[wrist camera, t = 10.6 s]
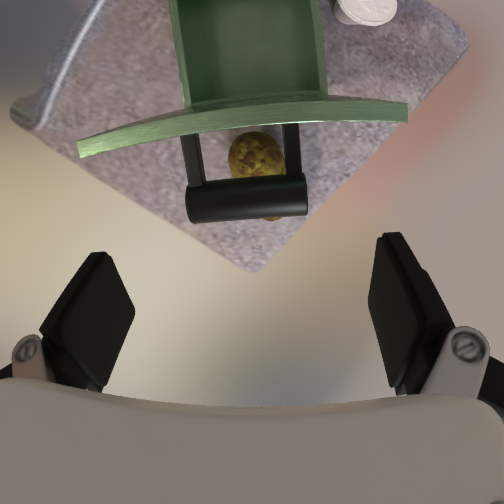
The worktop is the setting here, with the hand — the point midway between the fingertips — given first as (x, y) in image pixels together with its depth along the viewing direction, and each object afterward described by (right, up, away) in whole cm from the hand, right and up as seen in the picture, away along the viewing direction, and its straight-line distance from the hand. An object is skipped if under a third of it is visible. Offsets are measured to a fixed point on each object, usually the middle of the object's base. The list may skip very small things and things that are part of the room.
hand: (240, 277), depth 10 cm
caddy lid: (0, +10, +7) cm, 13 cm away
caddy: (+1, +28, +21) cm, 35 cm away
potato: (+2, +13, +32) cm, 34 cm away
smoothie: (+13, +32, +18) cm, 38 cm away
